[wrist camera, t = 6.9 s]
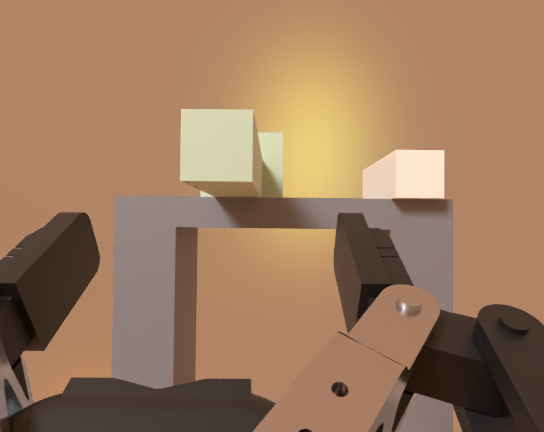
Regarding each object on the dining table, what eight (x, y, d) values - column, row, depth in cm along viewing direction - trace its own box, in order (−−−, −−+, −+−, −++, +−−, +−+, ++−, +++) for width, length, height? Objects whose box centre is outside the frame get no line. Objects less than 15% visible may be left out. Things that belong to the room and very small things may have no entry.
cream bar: (395, 197, 24) (396, 149, 24) (362, 205, 33) (362, 170, 33) (444, 198, 24) (444, 150, 24) (397, 205, 33) (397, 170, 33)
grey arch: (104, 699, 24) (115, 195, 25) (142, 592, 31) (150, 202, 32) (457, 706, 24) (457, 199, 25) (415, 597, 31) (416, 205, 32)
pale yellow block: (144, 180, 16) (146, 61, 16) (209, 202, 32) (210, 143, 32) (288, 181, 16) (289, 62, 16) (281, 203, 32) (282, 144, 32)
